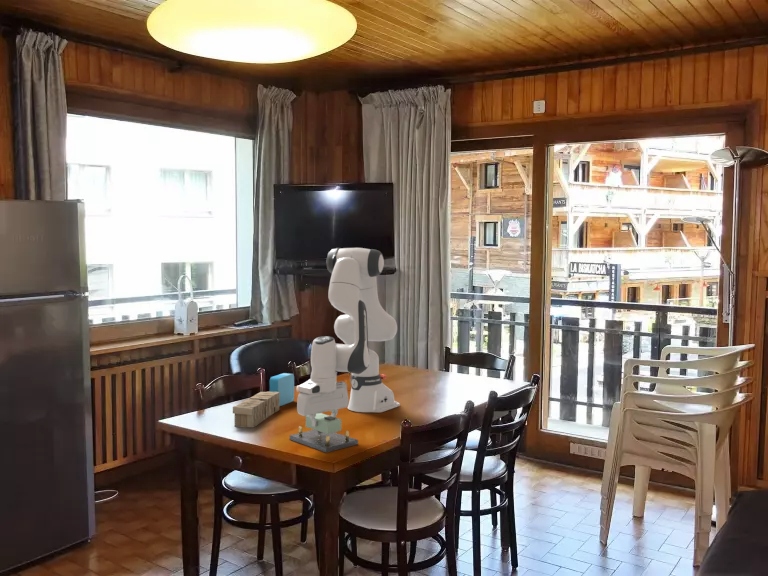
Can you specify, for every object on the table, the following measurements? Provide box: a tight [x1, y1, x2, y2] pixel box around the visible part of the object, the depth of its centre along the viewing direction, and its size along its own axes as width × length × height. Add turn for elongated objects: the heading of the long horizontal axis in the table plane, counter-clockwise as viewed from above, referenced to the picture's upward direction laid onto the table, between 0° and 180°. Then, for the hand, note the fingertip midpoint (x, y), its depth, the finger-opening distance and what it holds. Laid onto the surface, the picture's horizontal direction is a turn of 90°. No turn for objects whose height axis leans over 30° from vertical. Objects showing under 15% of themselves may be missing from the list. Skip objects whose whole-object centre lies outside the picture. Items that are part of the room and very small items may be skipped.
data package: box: [269, 372, 295, 407], centre depth 300 cm, size 12×4×12 cm, turn 155°
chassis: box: [289, 425, 359, 453], centre depth 245 cm, size 14×20×4 cm
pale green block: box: [305, 412, 342, 434], centre depth 245 cm, size 6×12×5 cm, turn 44°
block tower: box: [232, 390, 280, 428], centre depth 276 cm, size 8×8×29 cm
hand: (323, 424), depth 245 cm, fingers closed on pale green block, 6 cm apart
